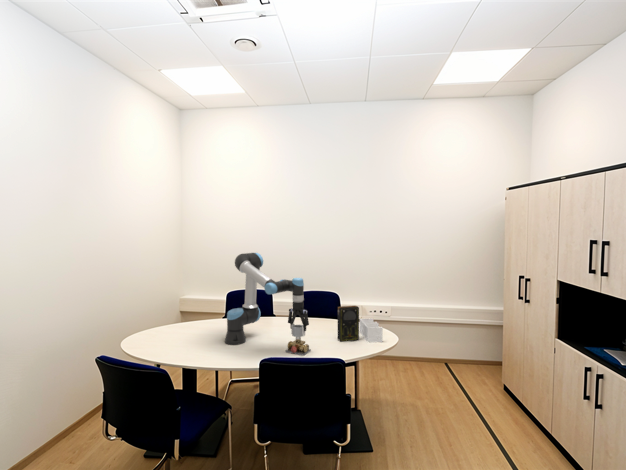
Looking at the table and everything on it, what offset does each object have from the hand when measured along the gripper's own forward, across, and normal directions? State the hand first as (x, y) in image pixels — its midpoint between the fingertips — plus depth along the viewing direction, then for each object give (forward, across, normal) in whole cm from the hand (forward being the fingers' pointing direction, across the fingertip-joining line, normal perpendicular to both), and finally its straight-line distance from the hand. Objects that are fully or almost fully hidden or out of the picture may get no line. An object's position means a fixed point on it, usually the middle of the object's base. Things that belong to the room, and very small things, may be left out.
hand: (298, 334), depth 234 cm
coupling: (0, 0, 0) cm, 0 cm away
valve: (+11, 0, 0) cm, 11 cm away
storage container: (+12, +31, +54) cm, 63 cm away
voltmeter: (+12, +19, +39) cm, 45 cm away
